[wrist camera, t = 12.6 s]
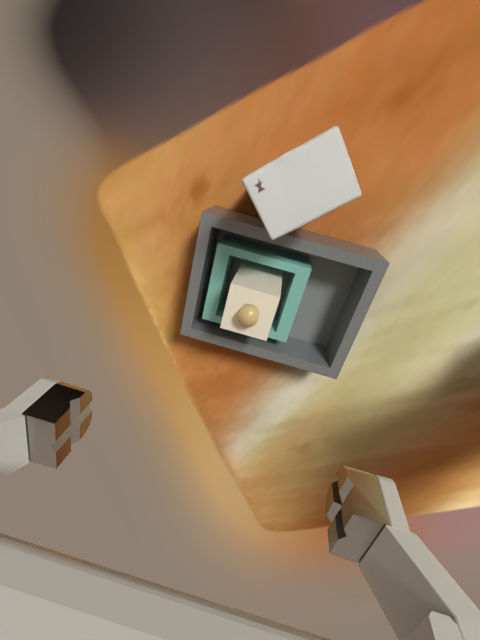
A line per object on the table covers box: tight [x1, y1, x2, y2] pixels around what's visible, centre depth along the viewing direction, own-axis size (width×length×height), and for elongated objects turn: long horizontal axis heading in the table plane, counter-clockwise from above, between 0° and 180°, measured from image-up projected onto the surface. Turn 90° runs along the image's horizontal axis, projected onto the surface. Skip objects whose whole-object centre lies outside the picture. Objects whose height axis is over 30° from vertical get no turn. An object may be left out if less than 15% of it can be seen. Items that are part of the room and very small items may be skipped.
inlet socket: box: [202, 235, 312, 342], centre depth 32 cm, size 8×8×4 cm
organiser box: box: [180, 206, 389, 379], centre depth 32 cm, size 16×12×5 cm
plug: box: [220, 259, 283, 341], centre depth 29 cm, size 4×4×9 cm
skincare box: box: [242, 126, 362, 240], centre depth 24 cm, size 6×4×12 cm
